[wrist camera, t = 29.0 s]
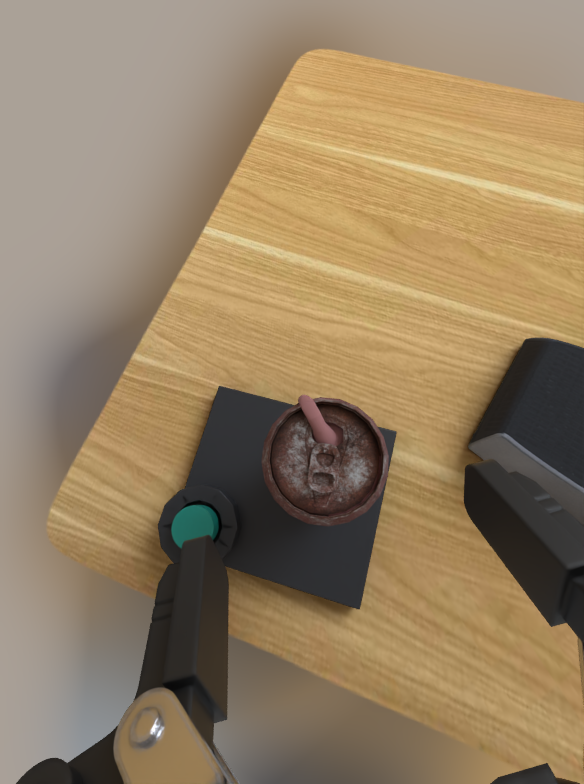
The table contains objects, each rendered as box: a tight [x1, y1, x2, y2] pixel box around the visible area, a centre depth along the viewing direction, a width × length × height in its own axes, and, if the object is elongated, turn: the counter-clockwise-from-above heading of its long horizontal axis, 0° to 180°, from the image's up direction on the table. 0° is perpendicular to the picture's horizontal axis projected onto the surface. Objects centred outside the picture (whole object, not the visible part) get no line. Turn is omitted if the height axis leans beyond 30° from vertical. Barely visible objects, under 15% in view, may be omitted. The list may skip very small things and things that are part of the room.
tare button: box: [171, 505, 219, 549], centre depth 28 cm, size 3×3×2 cm
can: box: [261, 395, 389, 526], centre depth 23 cm, size 6×6×14 cm
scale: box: [158, 386, 397, 609], centre depth 30 cm, size 17×14×3 cm
